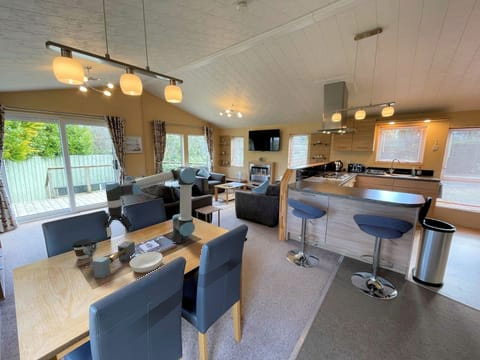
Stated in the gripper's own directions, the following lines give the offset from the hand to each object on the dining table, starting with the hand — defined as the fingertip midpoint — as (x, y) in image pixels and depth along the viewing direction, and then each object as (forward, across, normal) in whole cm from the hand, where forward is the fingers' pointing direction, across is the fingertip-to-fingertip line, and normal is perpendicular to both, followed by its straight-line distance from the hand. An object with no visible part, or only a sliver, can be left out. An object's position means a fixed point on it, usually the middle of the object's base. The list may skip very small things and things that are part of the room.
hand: (118, 236), depth 129 cm
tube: (+15, +3, +3) cm, 16 cm away
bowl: (+21, -20, +1) cm, 28 cm away
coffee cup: (+20, +34, -2) cm, 39 cm away
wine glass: (+20, +20, +4) cm, 28 cm away
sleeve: (+20, +2, -8) cm, 22 cm away
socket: (+20, +3, +13) cm, 24 cm away
